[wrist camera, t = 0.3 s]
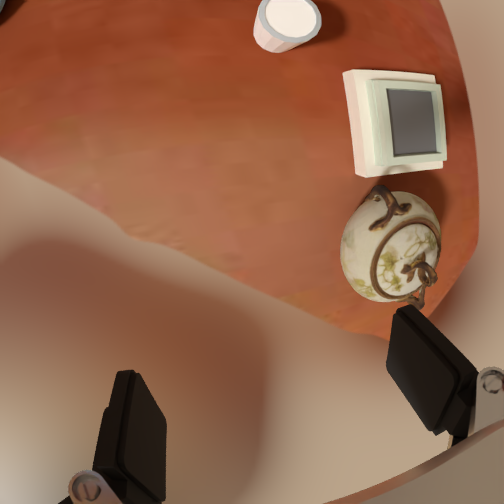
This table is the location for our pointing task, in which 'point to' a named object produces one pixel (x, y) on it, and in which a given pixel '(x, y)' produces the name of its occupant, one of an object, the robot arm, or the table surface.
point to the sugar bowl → (391, 247)
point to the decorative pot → (2, 4)
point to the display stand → (395, 121)
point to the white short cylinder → (286, 24)
